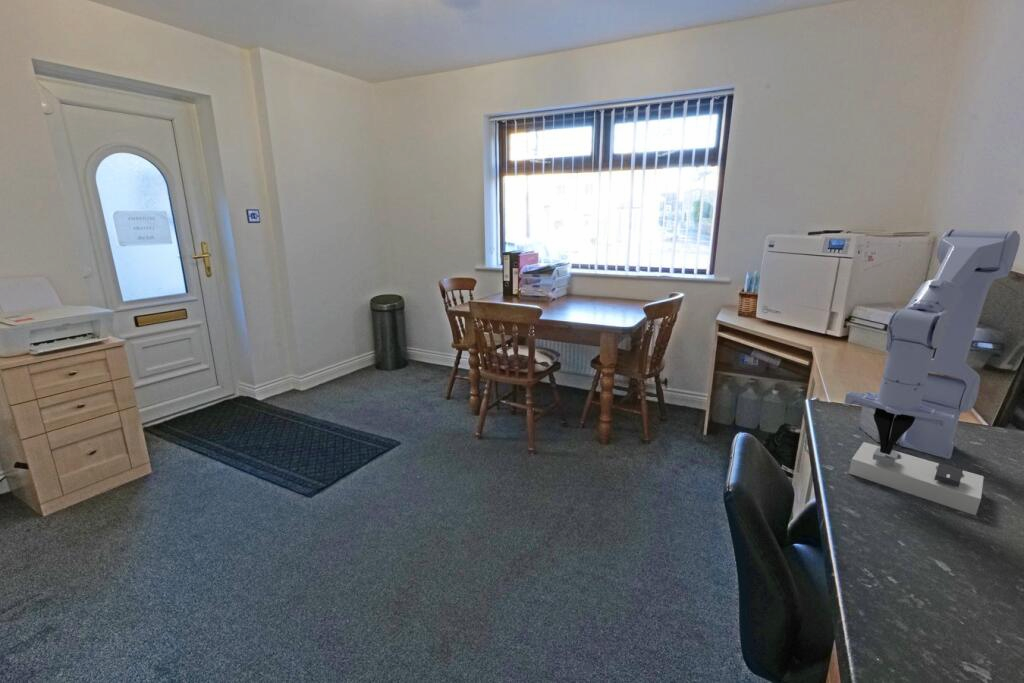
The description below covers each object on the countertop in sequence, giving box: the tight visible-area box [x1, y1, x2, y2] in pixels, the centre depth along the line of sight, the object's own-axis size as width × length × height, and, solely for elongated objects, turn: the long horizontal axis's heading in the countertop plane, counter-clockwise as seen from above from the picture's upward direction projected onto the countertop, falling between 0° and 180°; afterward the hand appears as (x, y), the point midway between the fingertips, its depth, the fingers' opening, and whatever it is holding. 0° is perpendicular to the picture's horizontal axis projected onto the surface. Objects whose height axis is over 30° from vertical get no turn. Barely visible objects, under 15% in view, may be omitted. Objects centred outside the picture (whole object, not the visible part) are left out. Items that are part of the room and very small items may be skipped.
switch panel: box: [848, 441, 984, 516], centre depth 83 cm, size 10×17×3 cm, turn 44°
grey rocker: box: [872, 448, 898, 465], centre depth 84 cm, size 4×3×1 cm
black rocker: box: [934, 462, 964, 487], centre depth 78 cm, size 4×3×1 cm
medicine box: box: [857, 392, 902, 445], centre depth 101 cm, size 8×4×9 cm, turn 168°
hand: (885, 451), depth 83 cm, fingers closed
